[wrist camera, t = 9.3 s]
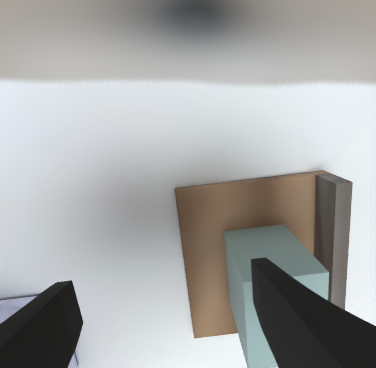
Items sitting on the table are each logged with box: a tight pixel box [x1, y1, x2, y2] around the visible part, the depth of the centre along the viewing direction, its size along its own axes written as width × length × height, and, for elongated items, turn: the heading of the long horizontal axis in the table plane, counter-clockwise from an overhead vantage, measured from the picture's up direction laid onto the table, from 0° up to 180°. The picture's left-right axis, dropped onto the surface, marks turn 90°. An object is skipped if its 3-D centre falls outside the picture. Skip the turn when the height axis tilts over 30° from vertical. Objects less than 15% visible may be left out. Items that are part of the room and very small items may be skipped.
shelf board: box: [175, 171, 352, 338], centre depth 19 cm, size 11×13×3 cm
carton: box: [224, 224, 329, 368], centre depth 17 cm, size 5×6×6 cm
